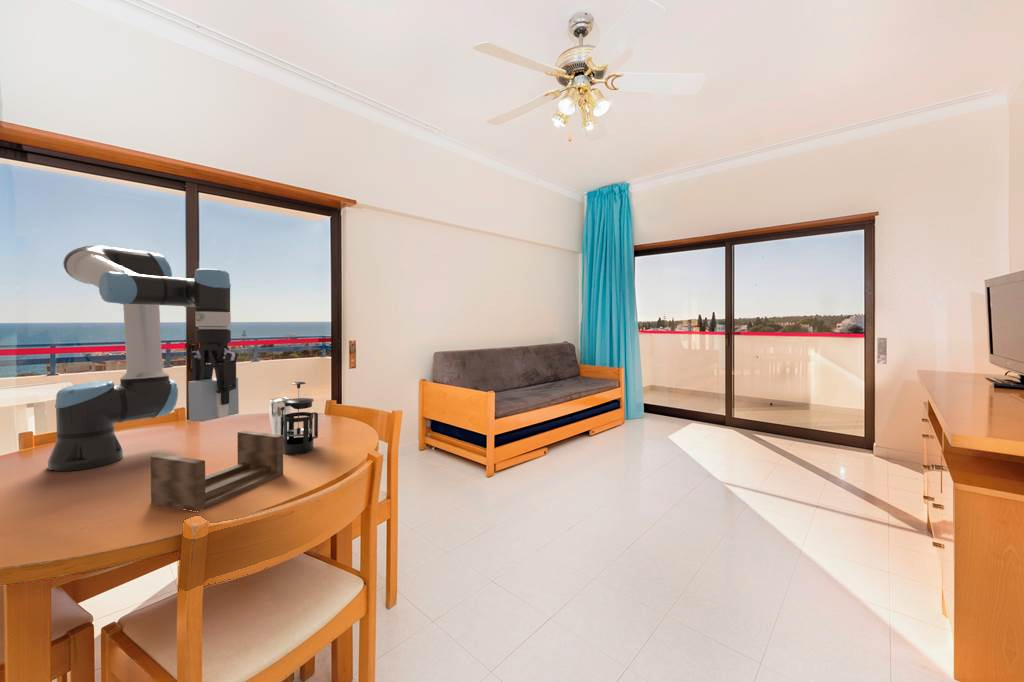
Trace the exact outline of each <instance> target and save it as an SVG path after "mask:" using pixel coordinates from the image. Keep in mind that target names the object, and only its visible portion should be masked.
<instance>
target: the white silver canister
mask: <svg viewBox="0 0 1024 682" xmlns="http://www.w3.org/2000/svg"><path fill="white" fill-rule="evenodd" d="M288 399H292V398H290V397H277V398H271V399H270V400H269V409H268V415H269V416H268V417H269V421H270V426H271V434H276V435H283V441H284V421H283V416H284V415H286V414H289V413H293V412H292V411H293V407H291V406H287V407H285V403H283V401H285V400H288ZM288 430H289V422H287V431H288ZM287 439H289V436H287Z"/></svg>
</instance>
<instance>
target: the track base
mask: <svg viewBox="0 0 1024 682" xmlns="http://www.w3.org/2000/svg"><path fill="white" fill-rule="evenodd" d="M283 475H284V454H283V435H276V434H272V433H266V432H258V431H250V430H241V431H238V432H237V464H236V465H234V466H233V465H232V466H230V467H228V468H226V469H225V468H224V469H222V470H220V471H217V472H214V473H210V474H209V475H206V460H204V459H196V458H190V457H184V456H176V455H171V454H170V455H169V454H164V453H158V454H154V455H152V456H150V503H151V505H156V506H161V505H163V506H162V507H166V506H169V507H168V508H171V507H174V508H173V509H176V508H179V509H178V510H181V509H186V510H192V511H196V512H197V511H199V512H201V511H203V510H205V509H208V508H210V507H212V506H215V505H218V504H219V503H221V502H224V501H226V500H228V499H230V498H233V497H235V496H237V495H239V494H240V495H241V494H242V493H244V492H247V491H249V490H251V489H253V488H256V487H258V486H260V485H262V484H265V483H267V482H269V481H271V480H275V479H276V478H278V477H281V476H283ZM202 509H203V510H202ZM186 510H185V511H186ZM200 510H201V511H200ZM196 512H195V513H196ZM197 513H198V512H197Z"/></svg>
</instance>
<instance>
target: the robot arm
mask: <svg viewBox="0 0 1024 682" xmlns="http://www.w3.org/2000/svg"><path fill="white" fill-rule="evenodd" d="M63 269H64V270H65V272H66V274H67V275H68V276H69V277H71V278H72V279H74V280H75V281H78V282H80V283H83V284H87V285H93V286H95V287H97V288H98V293H99V295H100V296H101V297H100V298H101V299H102V300H103V301H104V302H106V303H113V304H120V305H123V308H122V309H123V323H124V327H123V328H124V342H125V344H124V345H125V346H124V347H125V362H126V363H125V367H126V373H125V374H123V376H121V377H120V379H119V381H120V384H115V383H114V382H113V381H112V380H99V381H89V382H83V383H77V384H73V385H70V386H66V387H63V388H61V389H60V390H58V391H57V392H56V397H55V405H54V408H55V412H56V413H55V414H56V415H55V416H56V417H55V418H56V419H55V420H56V424H55V427H56V442H55V444H54V446H53V448H52V451H51V452H50V455H49V458H48V460H47V469H48V470H49V469H50V470H49V471H51V470H54V472H72V471H81V470H87V469H93V468H98V467H102V466H105V465H110V464H112V463H115V462H117V461H120V460H121V459H122V458H123V457H124V456H123V455H124V453H123V450H124V449H123V447H122V445H121V444H120V442H119V440H118V437H117V435H116V433H115V424H117V423H124V422H132V421H138V420H144V419H154V418H158V417H163V416H167V415H169V414H170V413H172V411H174V409H175V407H176V405H177V402H178V397H179V388H178V387H177V385H178V384H177V382H176V381H175V380H173V379H170V375H169V374H168V373H167V372H165V371H164V370H163V354H162V337H161V336H162V333H161V316H160V315H161V313H160V306H173V307H175V306H176V307H185V308H194V311H195V327H197V329H196V330H195V342H196V344H199V347H198V350H196V351H191V352H190V353H189V355H190V358H191V370H192V371H191V372H192V373H191V374H192V376H191V377H192V381H198V380H206V379H213V374H214V372H215V378H216V379H217V384H218V390H219V391H216V392H217V393H216V418H217V419H221V418H220V417H222V418H225V416H226V417H229V416H228V404H229V392H230V391H231V390H233V389H236V378H237V360H238V356H239V355H238V352H232V351H230V349H229V347H228V344H230V343H231V341H232V331H231V330H230V329H229V328H231V327H232V321H231V319H232V317H231V313H232V312H231V285H232V284H231V282H230V281H231V280H230V273H229V272H227V271H226V270H223V269H222V270H221V269H218V268H216V269H215V268H197V269H195V270H194V276H193V278H183V277H175V276H173V271H172V268H171V265H170V262H169V261H168V260H167V258H166V257H165V256H163V255H162V254H160V253H156V252H151V251H147V250H136V249H129V248H121V247H113V246H107V245H86V246H82V247H81V246H80V247H77V248H75V249H72V250H71V251H70V252H68V253H67V254H66V255H65V257H64V259H63ZM109 463H110V464H109Z"/></svg>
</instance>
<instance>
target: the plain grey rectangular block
mask: <svg viewBox="0 0 1024 682" xmlns="http://www.w3.org/2000/svg"><path fill="white" fill-rule="evenodd" d="M187 384H188V387H187V388H188V392H187V393H188V421H190V422H201V423H204V422H208V421H212V420H217V419H218V418H216V393H217V392H216V391H219V390H218V384H217V379H216V377H214V378H212V379H206V380H198V381H193V380H192V381H190V380H189V381H188V382H187ZM239 405H240V404H239V377H236V389H233V390H231V391H230V392H229V404H228V416H225V417H230V416H234V415H238V414H239V413H240V411H239V410H240V409H239ZM225 417H224V418H225ZM221 418H223V417H220V418H219V419H221Z"/></svg>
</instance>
